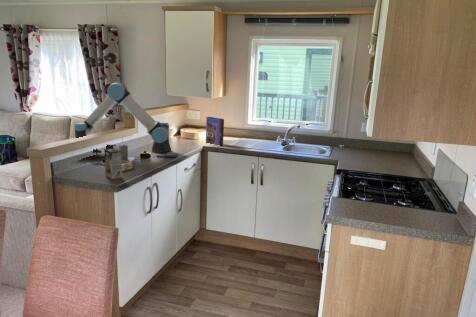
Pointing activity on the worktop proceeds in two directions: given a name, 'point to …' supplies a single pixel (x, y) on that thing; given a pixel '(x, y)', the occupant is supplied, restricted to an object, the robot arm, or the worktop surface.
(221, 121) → the cereal box
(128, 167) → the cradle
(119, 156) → the coffee box
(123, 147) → the battery cell
